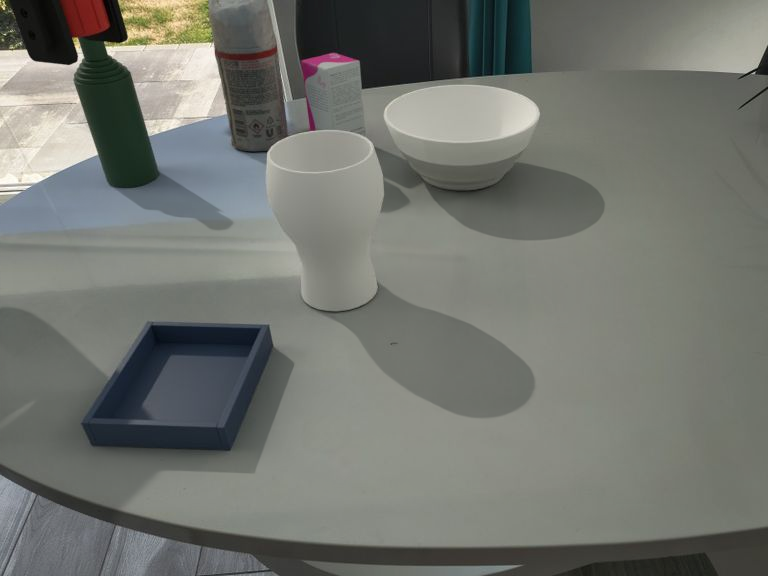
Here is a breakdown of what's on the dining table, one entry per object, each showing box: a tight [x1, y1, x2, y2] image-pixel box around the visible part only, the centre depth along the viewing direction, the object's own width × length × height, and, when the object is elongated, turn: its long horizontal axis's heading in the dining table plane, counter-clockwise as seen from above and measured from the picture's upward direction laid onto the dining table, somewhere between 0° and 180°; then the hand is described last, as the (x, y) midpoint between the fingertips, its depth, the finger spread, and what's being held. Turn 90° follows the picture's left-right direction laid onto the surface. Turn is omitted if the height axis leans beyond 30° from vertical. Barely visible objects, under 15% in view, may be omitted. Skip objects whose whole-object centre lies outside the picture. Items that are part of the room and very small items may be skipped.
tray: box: [80, 320, 274, 451], centre depth 62 cm, size 11×13×2 cm
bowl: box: [383, 84, 541, 192], centre depth 94 cm, size 20×20×8 cm
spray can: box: [208, 0, 290, 152], centre depth 98 cm, size 8×8×20 cm
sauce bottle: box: [72, 37, 160, 189], centre depth 90 cm, size 6×6×18 cm
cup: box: [265, 130, 385, 312], centre depth 70 cm, size 11×11×15 cm
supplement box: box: [300, 52, 367, 138], centre depth 100 cm, size 6×6×12 cm
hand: (80, 47), depth 46 cm, fingers closed on cap, 3 cm apart
